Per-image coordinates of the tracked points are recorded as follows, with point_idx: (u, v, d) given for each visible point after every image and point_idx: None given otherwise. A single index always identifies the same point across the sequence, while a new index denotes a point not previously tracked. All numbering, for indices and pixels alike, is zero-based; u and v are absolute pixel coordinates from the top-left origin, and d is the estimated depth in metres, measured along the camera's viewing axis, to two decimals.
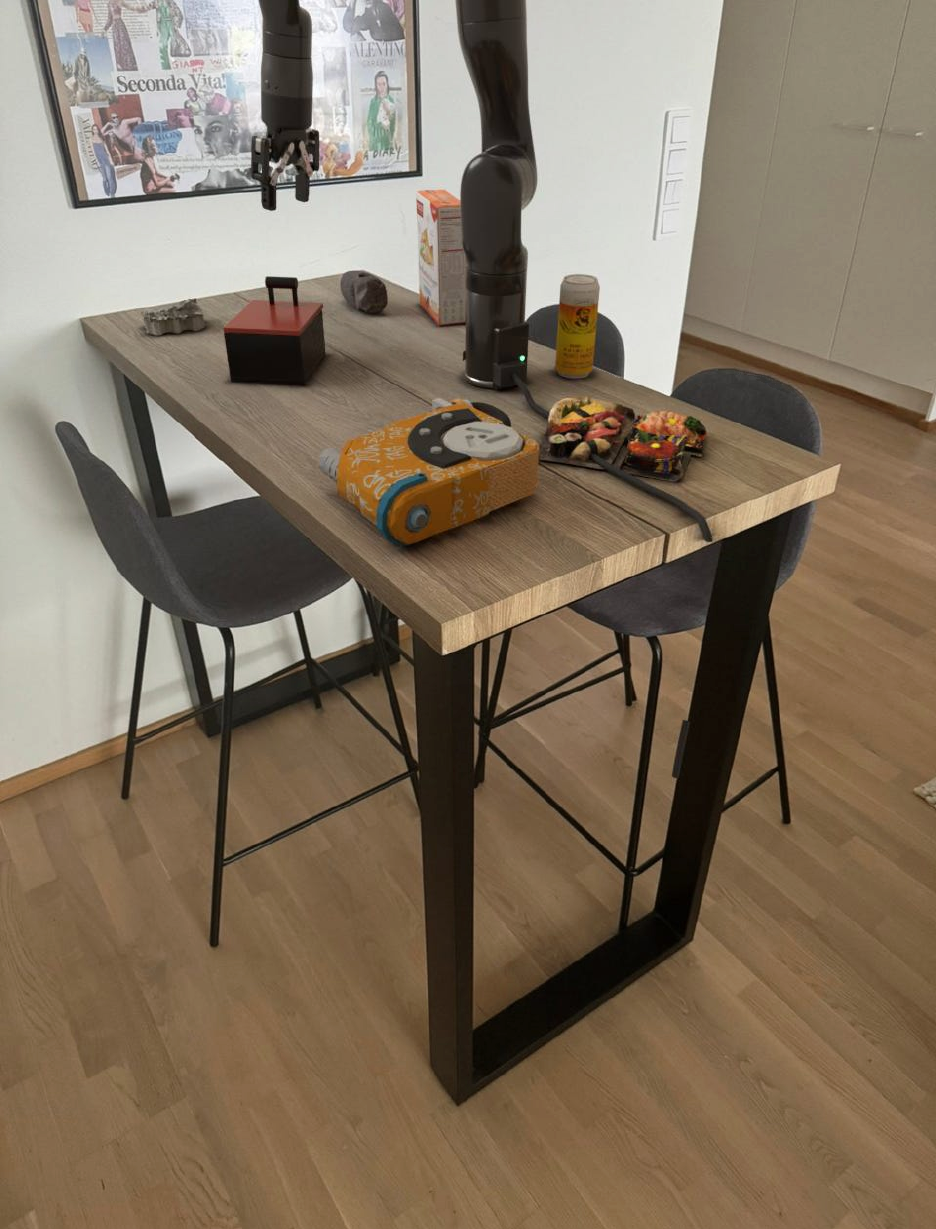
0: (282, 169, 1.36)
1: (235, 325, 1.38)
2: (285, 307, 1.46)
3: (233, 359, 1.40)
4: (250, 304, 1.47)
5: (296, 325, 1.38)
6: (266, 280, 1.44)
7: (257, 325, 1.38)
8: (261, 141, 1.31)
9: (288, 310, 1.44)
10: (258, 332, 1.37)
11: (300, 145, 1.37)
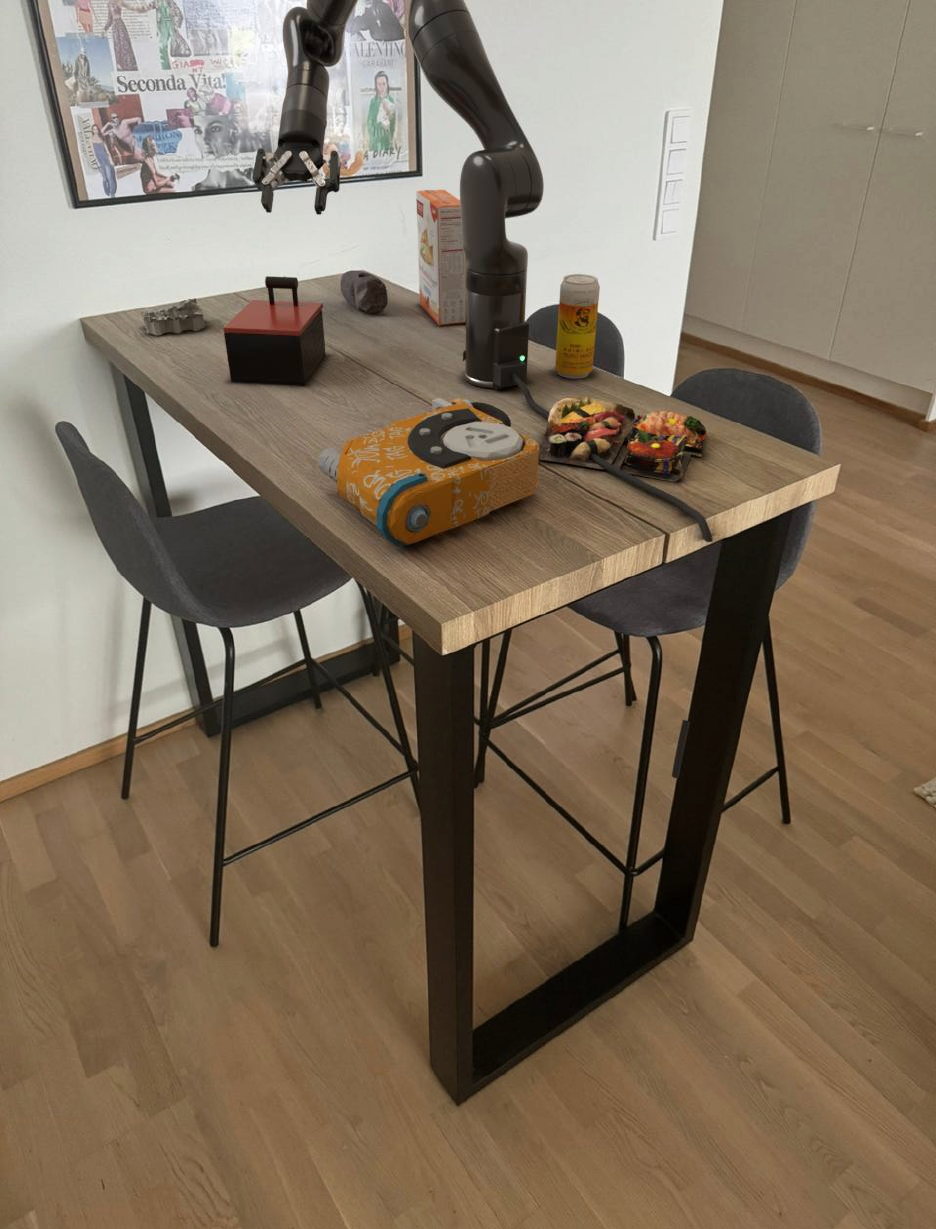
0: (275, 170, 1.48)
1: (235, 325, 1.38)
2: (285, 307, 1.46)
3: (233, 359, 1.40)
4: (250, 304, 1.47)
5: (296, 325, 1.38)
6: (266, 280, 1.44)
7: (257, 325, 1.38)
8: None
9: (288, 310, 1.44)
10: (258, 332, 1.37)
11: (301, 154, 1.48)
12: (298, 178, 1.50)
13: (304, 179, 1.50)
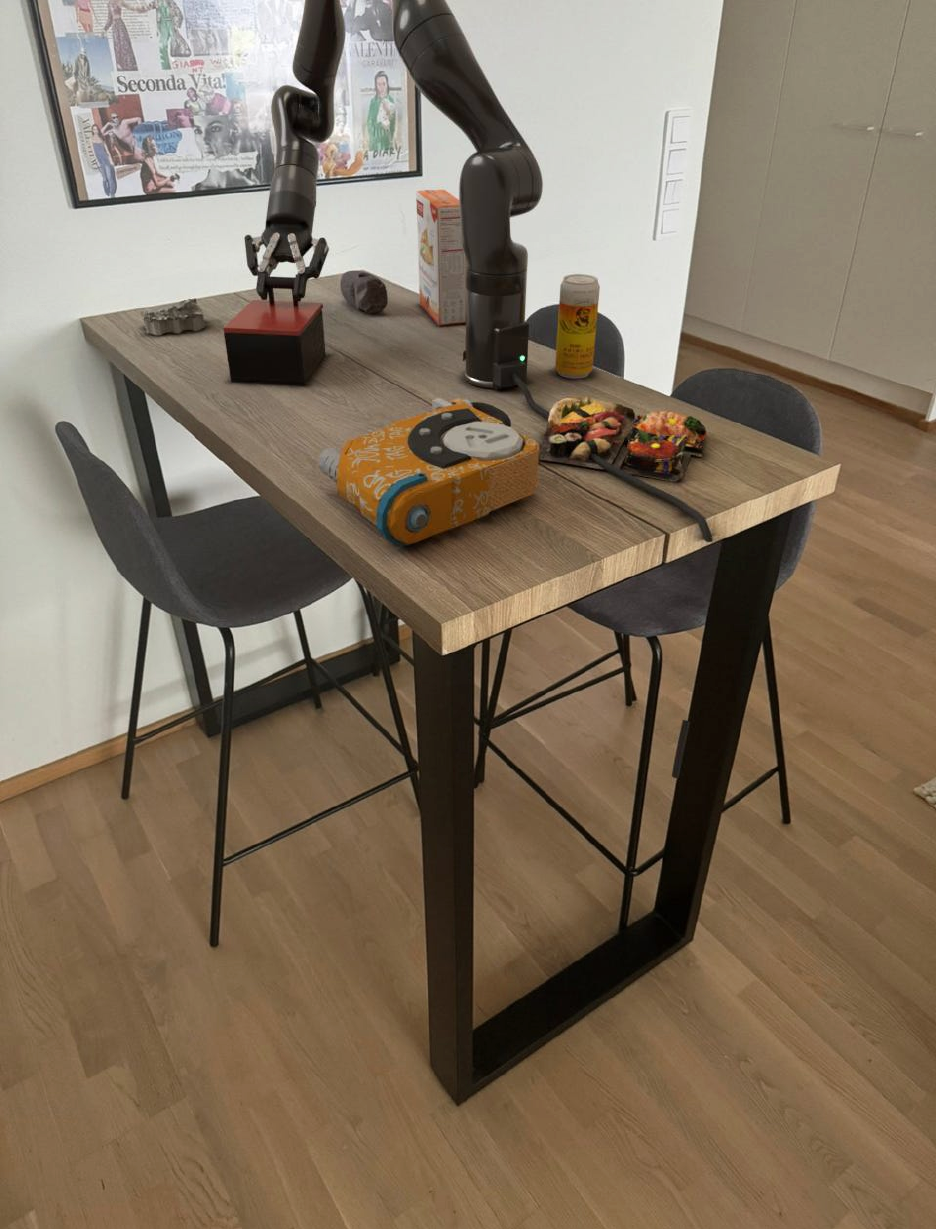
0: (267, 255, 1.44)
1: (235, 325, 1.38)
2: (285, 307, 1.46)
3: (233, 359, 1.40)
4: (250, 304, 1.47)
5: (296, 325, 1.38)
6: (266, 280, 1.44)
7: (257, 325, 1.38)
8: None
9: (288, 310, 1.44)
10: (258, 332, 1.37)
11: (289, 236, 1.44)
12: (286, 260, 1.46)
13: (292, 261, 1.46)
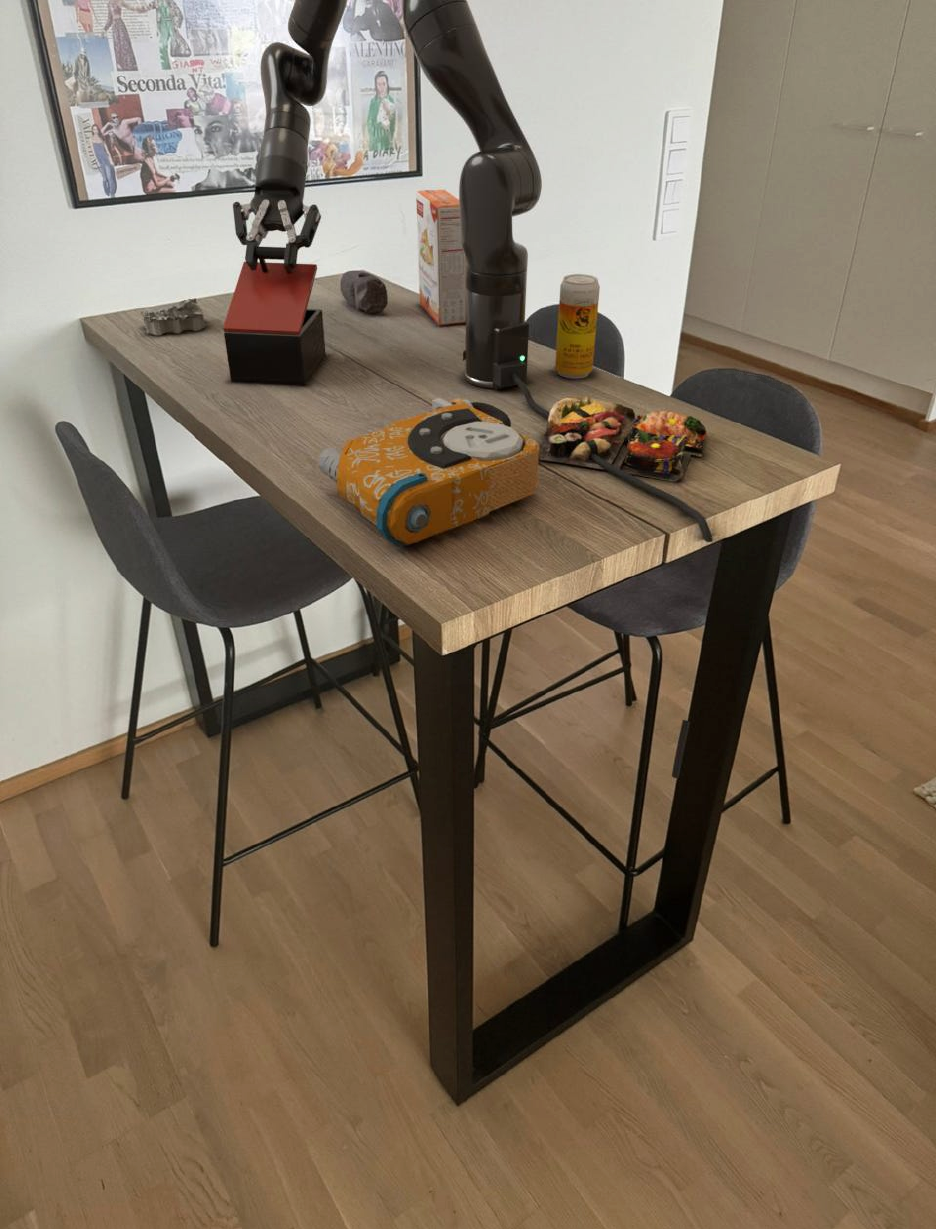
0: (257, 223, 1.38)
1: (234, 323, 1.37)
2: (279, 277, 1.42)
3: (233, 359, 1.40)
4: (243, 272, 1.43)
5: (294, 318, 1.37)
6: (256, 253, 1.39)
7: (256, 322, 1.37)
8: None
9: (283, 285, 1.41)
10: (258, 332, 1.37)
11: (279, 203, 1.38)
12: (277, 228, 1.40)
13: (283, 229, 1.40)
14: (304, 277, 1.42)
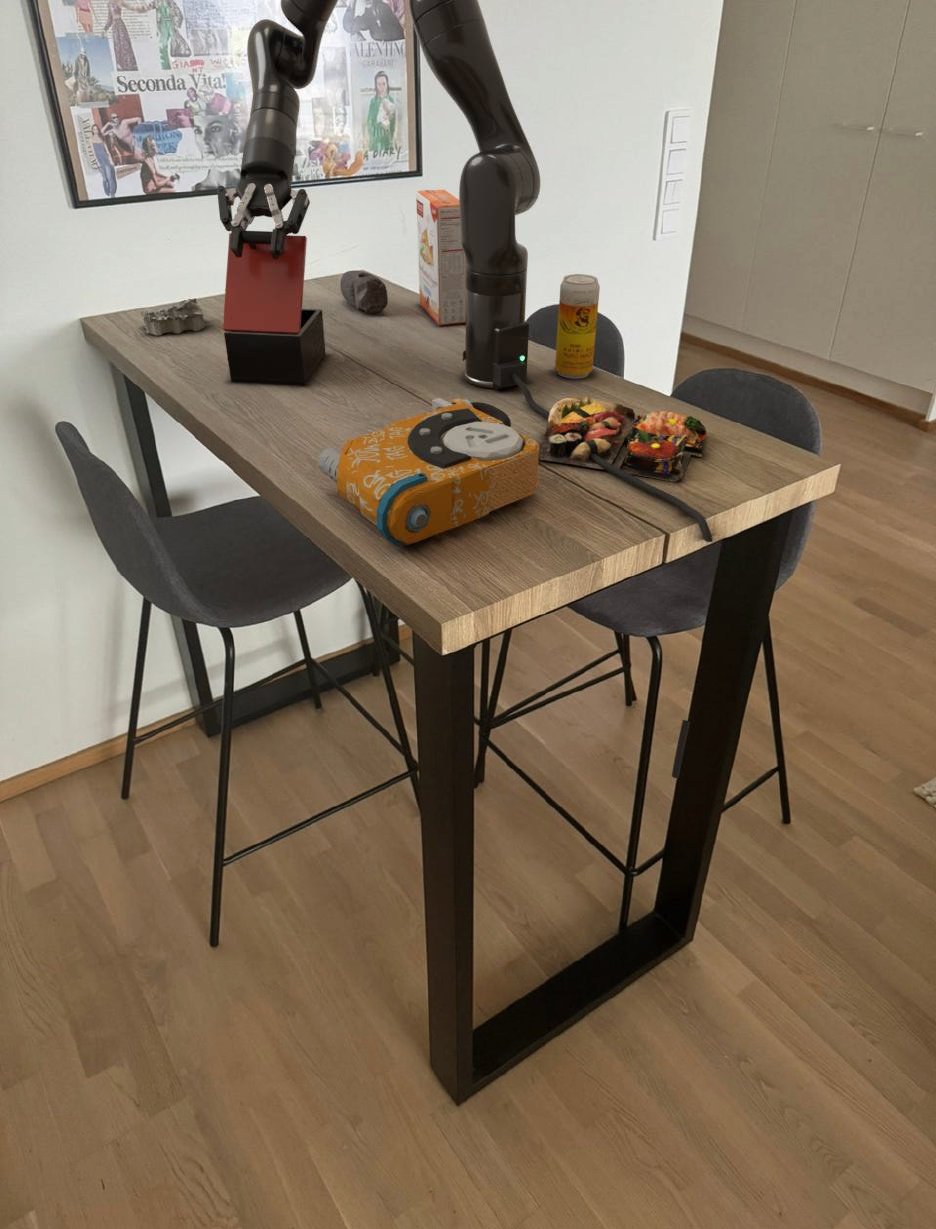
0: (242, 208, 1.31)
1: (232, 322, 1.37)
2: (269, 257, 1.36)
3: (233, 359, 1.40)
4: (231, 250, 1.37)
5: (292, 314, 1.36)
6: (242, 240, 1.33)
7: (254, 320, 1.36)
8: None
9: (275, 267, 1.36)
10: (258, 331, 1.37)
11: (266, 187, 1.31)
12: (263, 213, 1.33)
13: (270, 215, 1.33)
14: (295, 255, 1.36)
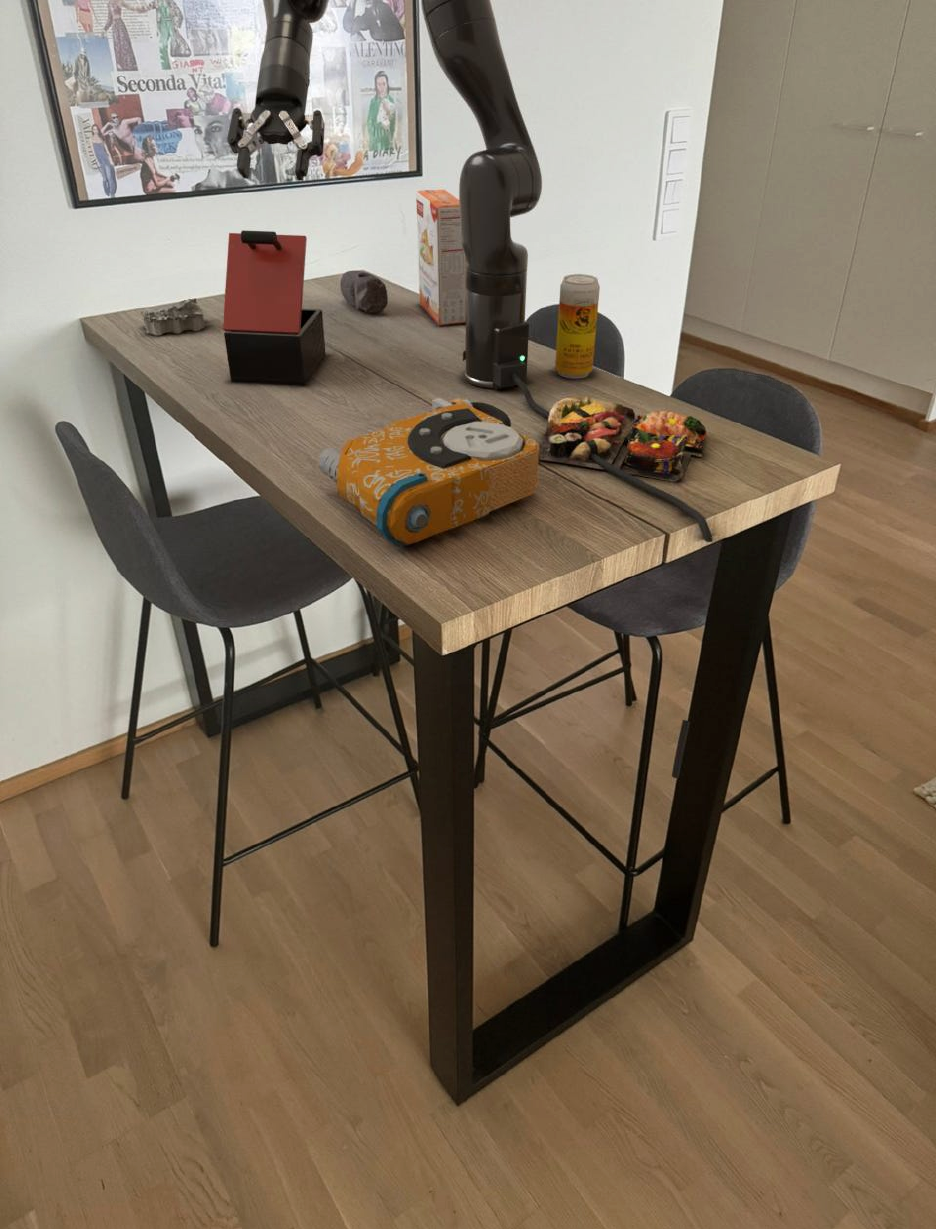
0: (252, 132, 1.34)
1: (232, 322, 1.37)
2: (269, 256, 1.36)
3: (233, 359, 1.40)
4: (230, 250, 1.37)
5: (292, 314, 1.36)
6: (242, 240, 1.32)
7: (254, 320, 1.36)
8: None
9: (275, 267, 1.36)
10: (258, 331, 1.37)
11: (280, 114, 1.34)
12: (278, 141, 1.36)
13: (284, 142, 1.36)
14: (295, 255, 1.36)
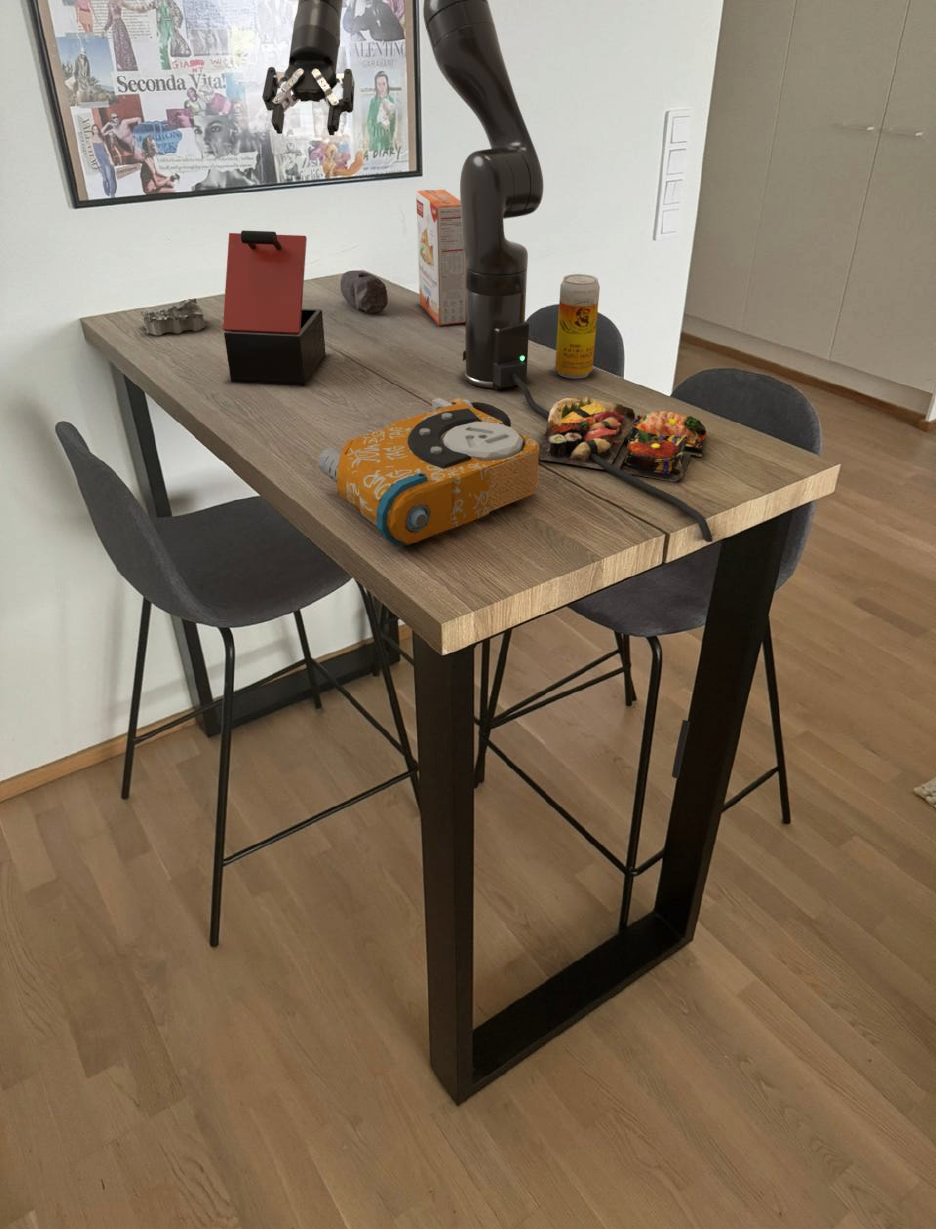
0: (286, 89, 1.42)
1: (232, 322, 1.37)
2: (269, 256, 1.36)
3: (233, 359, 1.40)
4: (230, 250, 1.37)
5: (292, 314, 1.36)
6: (242, 240, 1.32)
7: (254, 320, 1.36)
8: None
9: (275, 267, 1.36)
10: (258, 331, 1.37)
11: (313, 72, 1.41)
12: (310, 98, 1.43)
13: (316, 99, 1.43)
14: (295, 255, 1.36)
